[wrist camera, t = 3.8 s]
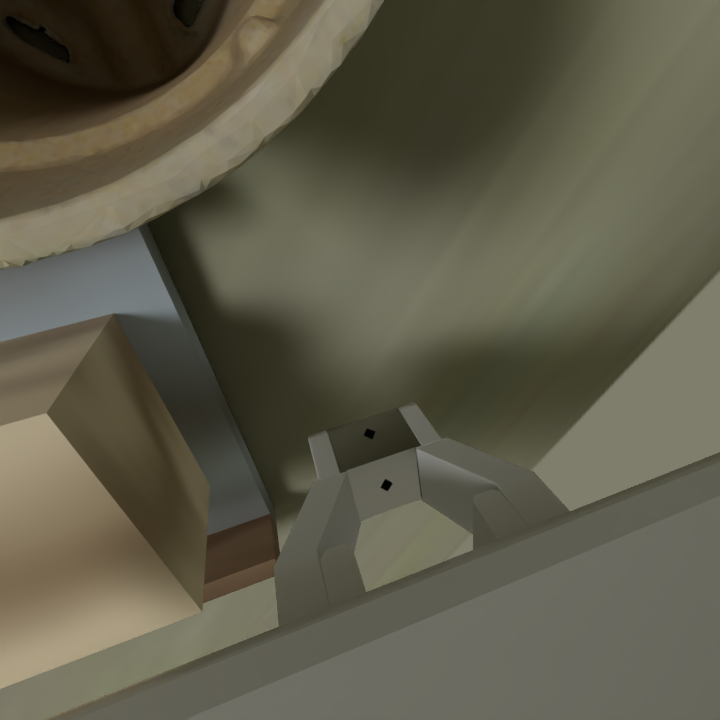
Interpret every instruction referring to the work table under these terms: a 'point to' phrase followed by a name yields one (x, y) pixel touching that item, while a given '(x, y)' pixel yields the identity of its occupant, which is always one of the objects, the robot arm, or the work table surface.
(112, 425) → the beech block
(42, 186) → the flower pot
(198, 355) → the channel
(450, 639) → the robot arm
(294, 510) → the work table surface
